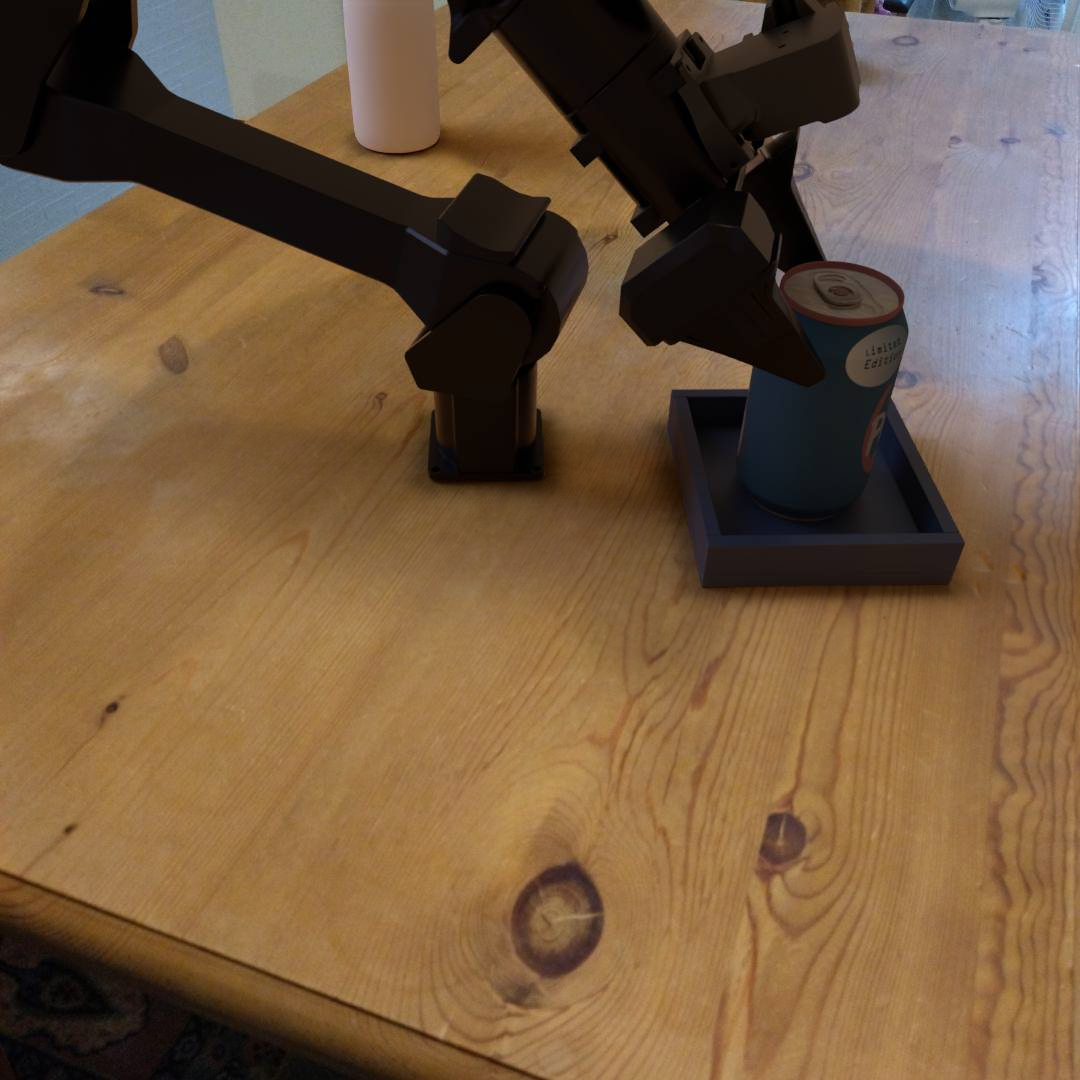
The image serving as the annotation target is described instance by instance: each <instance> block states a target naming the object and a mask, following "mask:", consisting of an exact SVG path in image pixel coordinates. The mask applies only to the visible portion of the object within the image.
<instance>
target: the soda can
mask: <svg viewBox="0 0 1080 1080" xmlns="http://www.w3.org/2000/svg"><path fill="white" fill-rule="evenodd" d="M779 288H780V290H781V291H782V293H783V295H784V297H785V298H786V300H787V302H788V303H789V305H790V307H791V309H792V310H793V312H794V314H795V316H796V317H797V319H798V321H799V322H800V324H801V326H802V328H803V329H804V331H805V333H806V334H807V336H808V338H809V340H810V341H811V343H812V345H813V347H814V348H815V350H816V352H817V354H818V356H819V358H820V360H821V362H822V364H823V366H824V367H825V369H826V377H825V378H824V379H823V380H821V381H820V382H818V383H816V384H814V385H813V386H811V387H803V386H801V385H798V384H796V383H793V382H791V381H788V380H786V379H783V378H781V377H778V376H776V375H773V374H771V373H768V372H766V371H763V370H761V369H759V368H756V367H754V366H751V367H752V368H751V373H750V379H749V384H748V389H749V390H748V395H747V401H746V407H745V412H744V418H743V423H742V429H741V435H740V440H739V446H738V452H737V457H736V467H737V472H738V475H739V477H740V479H741V481H742V483H743V485H744V487H745V489H746V491H747V492H748V494H749V496H750V497H751V499H752V500H753V501H754V502H755V503H756V504H757V505H758V506H760V507H761V508H763V509H764V510H766V511H767V512H769V513H771V514H774V515H776V516H779V517H782V518H785V519H789V520H795V521H819V520H824V519H828V518H830V517H833V516H835V515H837V514H838V513H840V512H841V511H842V510H844V509H845V508H846V507H848V506H849V505H851V504H852V503H853V502H854V501H855V500H857V499H858V498H859V497H860V495H861V494H862V493H863V491H864V490H865V488H866V485H867V482H868V478H869V474H870V471H871V467H872V464H873V460H874V457H875V453H876V449H877V446H878V442H879V439H880V435H881V432H882V428H883V424H884V421H885V417H886V414H887V410H888V406H889V403H890V399H891V398H892V396H893V391H894V388H895V384H896V382H897V378H898V373H899V370H900V367H901V363H902V360H903V356H904V352H905V349H906V346H907V342H908V338H909V333H910V331H909V330H910V329H909V324H908V320H907V317H906V314H905V309H904V304H905V297H906V296H905V293H904V290H903V289H902V287H901V286H900V285H899V283H897V282H896V280H894V279H893V278H892V277H890V276H889V275H888V274H885V273H883V272H881V271H879V270H877V269H875V268H872V267H869V266H865V265H861V264H859V263H854V262H847V261H838V260H827V261H816V262H809V263H805V264H801V265H798V266H796V267H793V268H792V269H790V270H788V271H787V272H786V273H784V274H783V275H782V277H781V279H780V282H779Z"/></svg>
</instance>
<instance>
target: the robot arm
mask: <svg viewBox="0 0 1080 1080" xmlns="http://www.w3.org/2000/svg"><path fill="white" fill-rule="evenodd" d="M446 2H447V6H448V9H449V19H450V20H449V21H450V22H449V23H450V27H449V34H448V35H449V37H448V51H447V56H448V58H449V60H450V61H451V62H452V63H453V64H455V65H461V64H463V63H464V62H465V61H466V60H467V59H468V58H469V57H470V56H471V55H472V54H474V52H475V51H476V50H477V49H478V48H479V47H480V46H481V45H482V44H483V43H484V42H485V40H487V39H488V38H489V37H490V36H491V35H493V36H494V37H495V38H496V39H497V40H498V42H499V43H500V44H501V45H502V47H503V48H504V49H505V50H506V51H507V52H508V54H509V55H510V57H512V58H513V59H514V60H513V61H515V62H516V63H517V64H518V66H519V67H520V68H521V69H522V71H523V72H524V73H525V74H526V75H527V77H528V78H529V79H530V80H531V81H532V82H533V83H534V85H535V86H536V87H537V88H538V90H539V91H540V92H541V93H542V94H543V96H544V97H545V98H546V99H547V100H548V102H549V103H550V104H551V105H552V106H553V107H554V109H555V110H556V111H557V112H558V113H559V115H560V116H561V117H563V119H564V120H565V122H566V123H567V124H568V125H569V127H570V128H571V129H572V130H573V131H574V133H575V134H577V136H576V138H575V140H574V141H573V143H572V145H571V146H570V149H569V150H568V152H570V154H572V156H573V157H574V158H575V159H576V161H577V162H578V163H579V164H580V165H581V166H582V167H583V168H584V169H586V167H588V166H589V165H590V164H592V162H594V161H595V160H596V159H597V160H598V161H599V163H601V164H602V165H603V167H604V168H605V169H606V170H607V171H608V173H609V174H610V175H611V176H612V178H613V179H614V180H615V181H616V182H617V183H618V184H619V186H620V187H621V189H623V191H624V192H625V193H626V194H627V195H628V197H629V198H630V199H631V200H632V202H634V204H635V208H634V210H633V213H632V215H631V217H630V220H629V223H630V224H631V225H632V227H633V228H634V229H635V230H636V232H638V233H639V235H640V236H641V237H642V238H643V239H645V238H647V237H648V236H649V235H650V234H652V233H653V232H655V231H656V230H657V229H658V228H660V227H661V226H663V225H664V224H665V223H667V224H668V225H666V226H665V227H664V228H662V229H661V230H660V231H658V232H657V233H656V234H654V235H653V236H652V237H650V238H648V240H647V241H645V242H644V243H642V244H640V246H638V247H637V248H635V249H634V252H633V254H632V256H631V260H630V262H629V264H628V267H627V269H626V272H625V275H624V277H623V280H622V283H621V285H620V291H619V292H620V293H619V306H618V316H619V317H620V318H621V319H622V321H624V323H625V324H626V325H627V326H628V327H629V328H630V329H631V330H632V331H633V332H634V334H635V335H636V336H637V337H638V339H640V341H642V343H643V344H644V345H645V346H646V347H657V346H658V345H660V344H661V343H662V342H663V343H665V344H666V345H668V346H671V347H672V346H675V345H676V344H679V343H680V342H681V343H684V344H688V345H691V346H694V347H697V348H700V349H703V350H705V351H709V352H713V353H716V354H720V355H722V356H725V357H727V358H731V359H733V360H736V361H738V362H742V363H744V364H747V365H749V366H751V367H753V366H754V367H756V368H759V369H761V370H763V371H766V372H768V373H771V374H773V375H776V376H778V377H781V378H783V379H786V380H788V381H791V382H793V383H796V384H798V385H801V386H803V387H811V386H813V385H814V384H816V383H818V382H820V381H821V380H823V379H824V378H825V377H826V369H825V367H824V366H823V364H822V362H821V360H820V358H819V356H818V354H817V352H816V350H815V348H814V347H813V345H812V343H811V341H810V340H809V338H808V336H807V334H806V333H805V331H804V329H803V328H802V326H801V324H800V322H799V321H798V319H797V317H796V316H795V314H794V312H793V310H792V309H791V307H790V305H789V303H788V302H787V300H786V298H785V297H784V295H783V293H782V291H781V290H780V288H779V287H780V285H778V283H777V279H776V276H777V271H778V270H779V271H781V272H782V273H784V274H785V273H786V272H787V271H788V270H790V269H792V268H793V267H796V266H798V265H801V264H805V263H809V262H816V261H828V259H827V257H826V254H825V252H824V250H823V248H822V245H821V242H820V240H819V237H818V235H817V233H816V230H815V228H814V225H813V223H812V221H811V218H810V216H809V214H808V211H807V209H806V206H805V203H804V202H803V201H804V200H803V199H802V196H801V193H800V191H799V188H798V186H797V183H796V180H795V176H794V170H795V169H794V168H795V164H796V158H797V153H798V147H799V141H800V136H801V127H804V126H807V125H810V124H813V123H817V122H819V123H822V124H824V125H827V124H829V123H832V122H835V121H839V120H841V119H842V118H845V117H847V116H848V115H850V114H853V113H854V112H855V111H856V110H857V109H858V108H859V106H860V104H861V98H860V86H861V84H862V78H861V74H860V70H859V66H858V62H857V61H858V60H857V57H856V54H855V49H853V44H852V41H853V40H852V37H851V32H850V24H849V22H848V19H847V16H846V10H845V7H843V6H842V5H841V6H840V5H837V2H836V1H835V0H834V1H832V2H829V3H826V4H825V8H824V7H823V6H822V5H821V4H820V2H819V1H818V0H766V3H765V6H764V7H765V8H764V11H763V18H762V21H761V22H762V23H761V29H760V31H761V33H760V34H757V33H756V34H757V35H755V34H754V33H753V32H749V33H747V34H744V35H743V37H742V40H741V41H739V42H738V43H735V44H733V45H731V46H728V47H725V48H723V49H721V50H718V51H716V52H715V51H714V50H713V49H712V48H711V46H710V45H709V44H708V42H706V40H705V38H703V36H702V35H701V34H700V32H698V31H694V32H690V31H689V29H688V28H685V29H684V30H683V31H682V32H680V33H679V34H678V35H677V36H676V34H675V33H674V32H673V31H672V29H671V28H670V27H669V25H668V24H667V23H666V21H665V20H664V19H663V18H662V16H661V15H660V14H659V13H658V12H657V10H656V9H655V8H654V6H653V5H652V4H651V2H650V1H649V0H446ZM138 6H139V5H138V0H0V165H1V166H2V167H3V168H6V169H9V170H12V171H15V172H19V173H22V174H23V173H24V174H27V175H31V176H36V177H41V178H44V179H49V180H53V181H57V182H61V183H66V184H67V183H68V184H76V183H77V184H81V183H83V184H84V183H85V184H87V183H89V184H90V183H92V184H94V183H95V184H98V183H99V184H100V183H104V184H105V183H130V184H135V185H139V186H143V187H146V188H148V189H150V190H153V191H155V192H157V193H160V194H162V195H165V196H167V197H169V198H171V199H175V200H177V201H180V202H182V203H185V204H187V205H189V206H191V207H195V208H196V209H199V210H201V211H203V212H206V213H209V214H211V215H214V216H217V217H219V218H221V219H224V220H226V221H229V222H231V223H234V224H236V225H238V226H240V227H243V228H246V229H248V230H251V231H252V232H255V233H258V234H261V235H263V236H265V237H268V238H270V239H273V240H275V241H277V242H281V243H282V244H285V245H288V246H290V247H292V248H295V249H297V250H300V251H301V252H304V253H307V254H309V255H312V256H315V257H317V258H319V259H322V260H324V261H327V262H330V263H331V264H334V265H336V266H339V267H340V268H344V269H346V270H349V271H351V272H354V273H356V274H359V275H361V276H364V277H366V278H369V279H370V280H373V281H375V282H378V283H380V284H383V285H385V286H387V287H388V288H390V289H391V290H393V291H394V292H396V293H397V295H398V296H399V297H400V298H401V299H402V301H403V302H404V304H406V305H407V306H408V307H409V309H410V310H411V311H412V312H413V313H414V315H415V316H416V317H417V318H418V319H419V321H421V322H422V324H423V325H424V326H423V327H422V328H421V330H420V331H419V333H418V334H417V336H416V337H415V338H414V340H413V341H412V343H411V344H410V345H409V347H408V348H407V349H406V350H405V352H404V360H405V362H406V365H407V367H408V369H409V372H410V374H411V376H412V379H413V380H414V383H415V385H416V387H417V388H418V389H419V390H422V391H428V392H433V402H434V409H433V410H432V411H431V413H430V427H429V428H430V429H429V443H428V457H427V458H428V459H427V476H428V479H430V480H431V481H433V482H441V481H442V482H457V481H458V482H460V481H462V482H463V481H464V482H465V481H466V482H467V481H471V482H473V481H474V482H475V481H476V482H477V481H539V480H542V479H543V478H544V477H545V474H546V466H545V465H546V463H545V449H544V434H543V420H542V419H543V418H542V410H541V409H540V408H538V361H540V360H541V359H542V358H544V357H545V356H546V355H547V354H548V353H549V352H551V351H552V349H553V348H554V346H555V343H556V342H557V340H558V338H559V336H560V334H561V332H562V331H563V329H564V327H565V325H566V323H567V321H568V319H569V317H570V315H571V314H572V311H573V309H574V308H575V305H576V304H577V301H578V300H579V297H580V295H581V294H582V292H583V290H584V288H585V286H586V284H587V282H588V276H589V271H590V265H589V264H590V263H589V259H588V252H587V250H586V248H585V246H584V244H583V242H582V240H581V238H580V235H579V231H578V229H577V228H576V227H575V226H574V224H572V223H571V222H570V221H569V220H568V219H566V218H565V217H563V216H562V215H560V214H558V213H556V212H555V211H552V210H548V208H549V206H550V205H551V203H552V199H551V197H550V196H533V195H529V194H526V193H522V192H519V191H518V190H515V189H513V188H511V187H510V186H507V185H505V184H504V183H502V182H501V181H499V180H498V179H496V178H494V177H493V176H489V175H487V174H483V173H480V172H476V173H474V174H473V175H472V176H471V177H470V179H469V180H468V181H467V183H466V184H465V185H464V186H463V188H462V189H461V190H460V191H459V192H458V194H457V195H456V196H455V197H454V196H453V197H433V196H432V197H431V196H427V195H424V194H420V193H417V192H414V191H412V190H410V189H407V188H405V187H402V186H400V185H398V184H395V183H393V182H390V181H388V180H385V179H383V178H381V177H378V176H375V175H373V174H370V173H368V172H366V171H363V170H361V169H359V168H356V167H353V166H351V165H348V164H346V163H343V162H341V161H340V160H339V161H338V160H336V159H334V158H330V157H328V156H326V155H325V154H321V153H319V152H317V151H314V150H311V149H309V148H307V147H304V146H303V145H299V144H297V143H294V142H292V141H289V140H287V139H284V138H282V137H280V136H277V135H274V134H272V133H270V132H268V131H264V130H263V129H260V128H258V127H255V126H253V125H250V124H248V123H245V122H243V121H240V120H238V119H235V118H233V117H231V116H228V115H226V114H223V113H221V112H218V111H216V110H213V109H210V108H208V107H206V106H204V105H201V104H199V103H196V102H193V101H191V100H188V99H186V98H184V97H181V96H179V95H177V94H175V93H174V92H172V91H170V90H169V89H168V87H166V86H165V85H164V83H163V82H162V81H161V80H160V78H159V77H158V75H156V74H155V73H154V71H153V70H152V69H151V67H149V66H148V64H147V63H146V62H145V60H144V59H143V58H142V57H141V56H140V55H139V54H138V53H137V52H135V51H134V50H133V47H134V44H135V41H136V38H137V35H138V32H139V31H138V30H139V7H138ZM774 136H777V137H775V138H774Z"/></svg>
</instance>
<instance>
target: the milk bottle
mask: <svg viewBox="0 0 1080 1080" xmlns="http://www.w3.org/2000/svg"><path fill="white" fill-rule="evenodd" d="M342 6H343V7H342V8H343V23H344V25H343V26H344V36H345V49H346V58H347V67H348V68H347V70H348V80H349V91H350V101H351V111H352V122H353V129H354V136H355V139H356V140H357V142H358V143H359V144H360V145H361V146H362V147H363V148H366V149H368V150H371V151H375V152H378V153H379V152H380V153H388V154H403V153H405V154H406V153H412V152H413V153H414V152H418V151H421V150H425V149H428V148H430V147H432V146H433V145H435V144H436V143H437V142H438V140H439V138H440V136H441V109H440V108H441V107H440V87H439V65H438V47H437V28H436V27H437V25H436V13H435V3H434V0H343V1H342Z"/></svg>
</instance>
